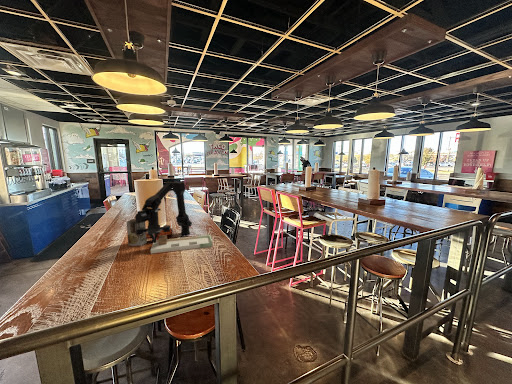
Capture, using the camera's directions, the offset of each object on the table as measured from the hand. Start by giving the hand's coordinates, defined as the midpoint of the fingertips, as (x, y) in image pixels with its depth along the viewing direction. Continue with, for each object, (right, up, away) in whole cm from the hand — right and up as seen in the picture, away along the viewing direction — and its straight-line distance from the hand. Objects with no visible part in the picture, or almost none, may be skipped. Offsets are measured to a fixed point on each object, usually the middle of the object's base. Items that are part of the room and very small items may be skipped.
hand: (154, 242), depth 132 cm
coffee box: (-14, -3, +7) cm, 16 cm away
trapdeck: (+17, -3, +3) cm, 17 cm away
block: (+5, -1, +2) cm, 5 cm away
